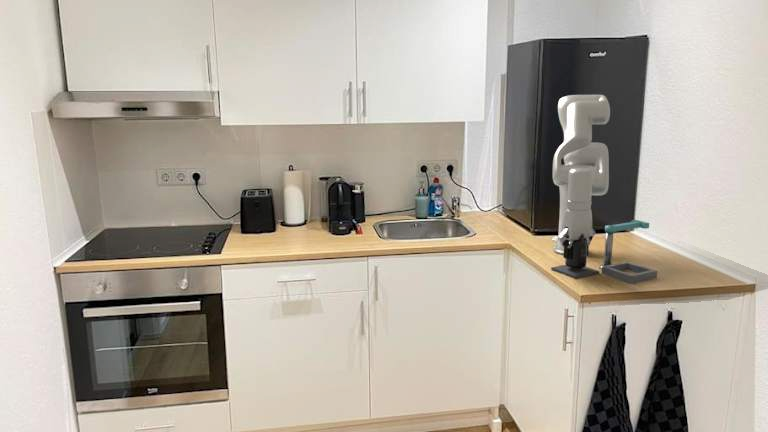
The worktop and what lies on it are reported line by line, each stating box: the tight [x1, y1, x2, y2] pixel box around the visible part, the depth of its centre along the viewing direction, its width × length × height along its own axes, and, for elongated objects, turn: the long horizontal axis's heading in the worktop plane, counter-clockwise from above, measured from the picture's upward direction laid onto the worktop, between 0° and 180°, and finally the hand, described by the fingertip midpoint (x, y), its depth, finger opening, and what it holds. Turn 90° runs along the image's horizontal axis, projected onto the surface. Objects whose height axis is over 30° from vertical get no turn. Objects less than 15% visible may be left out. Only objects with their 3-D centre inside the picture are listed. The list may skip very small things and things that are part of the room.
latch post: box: [598, 232, 614, 271], centre depth 194 cm, size 5×5×13 cm
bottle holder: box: [601, 260, 658, 285], centre depth 187 cm, size 12×12×2 cm
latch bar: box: [604, 219, 650, 234], centre depth 195 cm, size 17×6×2 cm, turn 116°
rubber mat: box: [550, 264, 600, 279], centre depth 192 cm, size 11×11×1 cm
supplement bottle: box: [564, 233, 588, 268], centre depth 191 cm, size 7×7×12 cm
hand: (575, 256), depth 192 cm, fingers closed on supplement bottle, 6 cm apart
